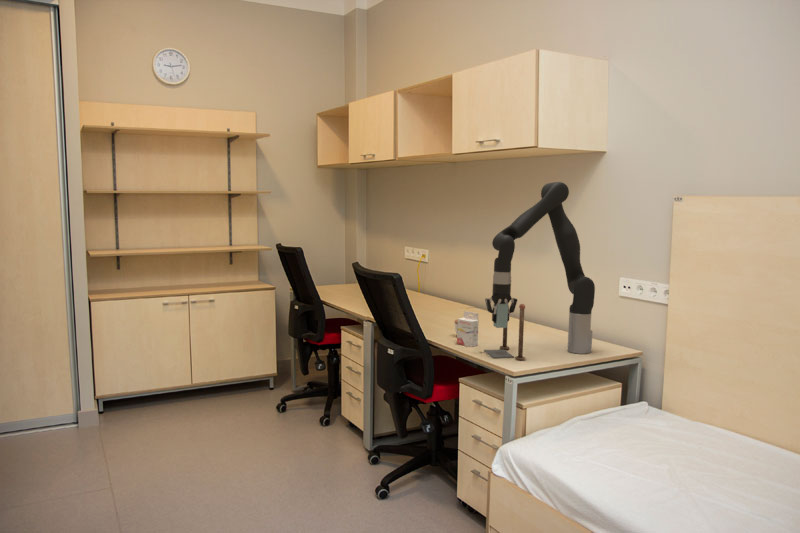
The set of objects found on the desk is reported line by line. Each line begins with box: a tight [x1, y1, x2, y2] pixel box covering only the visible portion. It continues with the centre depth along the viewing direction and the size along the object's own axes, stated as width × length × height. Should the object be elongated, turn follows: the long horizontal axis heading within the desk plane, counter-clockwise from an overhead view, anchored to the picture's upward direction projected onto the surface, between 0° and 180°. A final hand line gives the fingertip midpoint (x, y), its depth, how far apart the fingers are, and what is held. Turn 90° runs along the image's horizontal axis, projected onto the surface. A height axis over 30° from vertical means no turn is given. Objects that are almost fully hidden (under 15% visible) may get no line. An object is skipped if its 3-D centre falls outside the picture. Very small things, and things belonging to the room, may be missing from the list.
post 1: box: [499, 322, 510, 351], centre depth 264 cm, size 4×4×23 cm
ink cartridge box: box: [456, 310, 479, 348], centre depth 271 cm, size 9×5×15 cm, turn 48°
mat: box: [483, 349, 515, 359], centre depth 255 cm, size 9×12×1 cm
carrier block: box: [493, 303, 509, 329], centre depth 253 cm, size 4×4×10 cm
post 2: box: [514, 303, 526, 362], centre depth 246 cm, size 4×4×23 cm
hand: (500, 322), depth 253 cm, fingers closed on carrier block, 4 cm apart
